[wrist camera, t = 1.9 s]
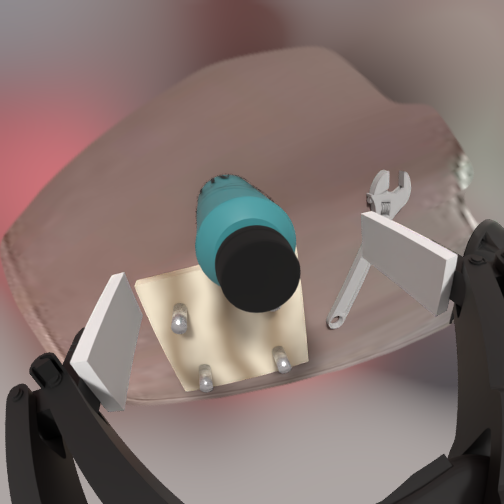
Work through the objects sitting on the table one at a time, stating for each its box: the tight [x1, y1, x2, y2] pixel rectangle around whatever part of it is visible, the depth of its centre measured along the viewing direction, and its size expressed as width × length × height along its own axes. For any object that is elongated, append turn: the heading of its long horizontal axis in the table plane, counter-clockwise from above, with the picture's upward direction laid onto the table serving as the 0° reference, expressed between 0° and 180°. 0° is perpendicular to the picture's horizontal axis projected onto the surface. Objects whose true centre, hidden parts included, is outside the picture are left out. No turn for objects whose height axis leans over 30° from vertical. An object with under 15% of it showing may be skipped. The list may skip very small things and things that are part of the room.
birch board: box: [135, 248, 309, 392], centre depth 37 cm, size 20×20×2 cm
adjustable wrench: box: [326, 170, 411, 329], centre depth 36 cm, size 25×6×2 cm, turn 157°
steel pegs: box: [171, 303, 292, 392], centre depth 34 cm, size 13×13×4 cm
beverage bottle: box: [195, 174, 300, 313], centre depth 22 cm, size 6×7×20 cm
